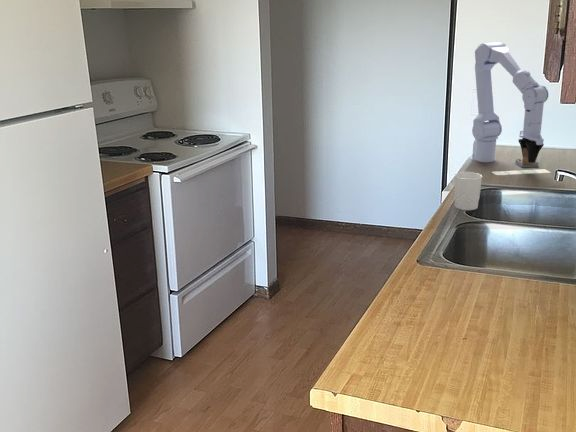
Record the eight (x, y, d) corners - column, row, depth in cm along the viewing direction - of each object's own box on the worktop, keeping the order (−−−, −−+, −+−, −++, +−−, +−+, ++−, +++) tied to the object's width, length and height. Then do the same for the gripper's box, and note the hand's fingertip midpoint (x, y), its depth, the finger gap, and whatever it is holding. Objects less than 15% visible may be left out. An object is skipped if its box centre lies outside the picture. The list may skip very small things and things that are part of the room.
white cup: (477, 202, 191) (479, 171, 188) (482, 211, 184) (484, 178, 181) (451, 202, 192) (452, 171, 189) (455, 211, 185) (457, 179, 181)
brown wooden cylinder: (520, 162, 219) (521, 147, 217) (531, 162, 219) (532, 146, 218) (525, 165, 215) (526, 150, 214) (536, 164, 216) (537, 149, 214)
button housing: (515, 165, 230) (515, 159, 229) (530, 165, 230) (531, 158, 230) (521, 170, 224) (522, 163, 224) (537, 169, 225) (538, 162, 224)
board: (487, 172, 223) (487, 169, 223) (541, 169, 224) (542, 167, 224) (498, 180, 213) (498, 177, 213) (554, 177, 214) (555, 174, 214)
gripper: (512, 118, 219) (509, 156, 224) (530, 126, 206) (526, 166, 210) (532, 118, 220) (528, 155, 224) (551, 125, 206) (546, 165, 210)
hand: (528, 160), depth 217 cm, fingers closed on brown wooden cylinder, 4 cm apart
